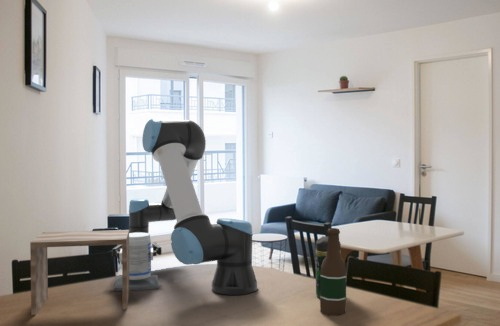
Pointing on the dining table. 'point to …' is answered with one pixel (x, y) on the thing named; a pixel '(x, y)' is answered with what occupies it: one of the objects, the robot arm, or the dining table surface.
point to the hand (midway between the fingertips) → (136, 256)
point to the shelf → (72, 239)
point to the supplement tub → (139, 256)
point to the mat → (138, 283)
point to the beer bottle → (333, 278)
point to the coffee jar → (321, 259)
